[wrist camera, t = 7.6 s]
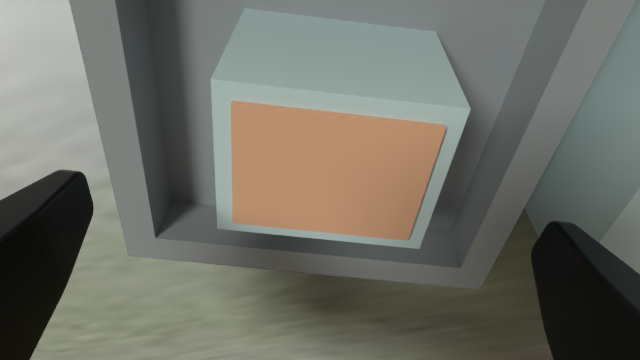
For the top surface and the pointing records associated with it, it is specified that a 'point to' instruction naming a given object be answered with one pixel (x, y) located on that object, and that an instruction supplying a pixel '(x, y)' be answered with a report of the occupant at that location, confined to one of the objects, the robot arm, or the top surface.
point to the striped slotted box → (600, 156)
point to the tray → (358, 6)
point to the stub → (332, 128)
